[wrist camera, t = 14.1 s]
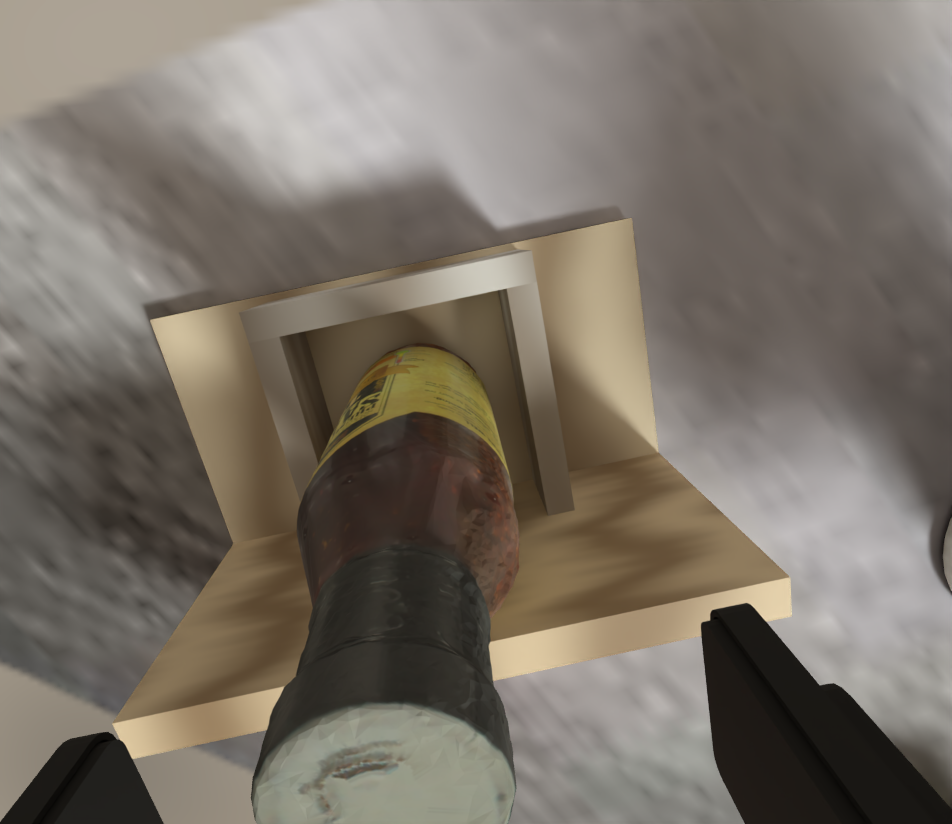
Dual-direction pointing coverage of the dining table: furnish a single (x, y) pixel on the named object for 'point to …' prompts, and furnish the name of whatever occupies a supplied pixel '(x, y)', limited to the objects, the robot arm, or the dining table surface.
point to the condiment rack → (525, 450)
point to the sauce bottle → (400, 611)
